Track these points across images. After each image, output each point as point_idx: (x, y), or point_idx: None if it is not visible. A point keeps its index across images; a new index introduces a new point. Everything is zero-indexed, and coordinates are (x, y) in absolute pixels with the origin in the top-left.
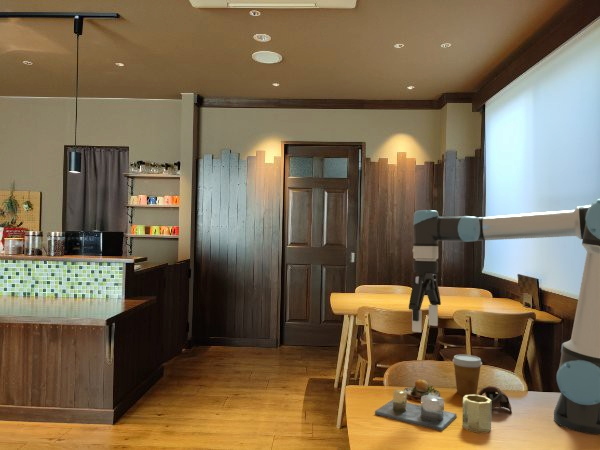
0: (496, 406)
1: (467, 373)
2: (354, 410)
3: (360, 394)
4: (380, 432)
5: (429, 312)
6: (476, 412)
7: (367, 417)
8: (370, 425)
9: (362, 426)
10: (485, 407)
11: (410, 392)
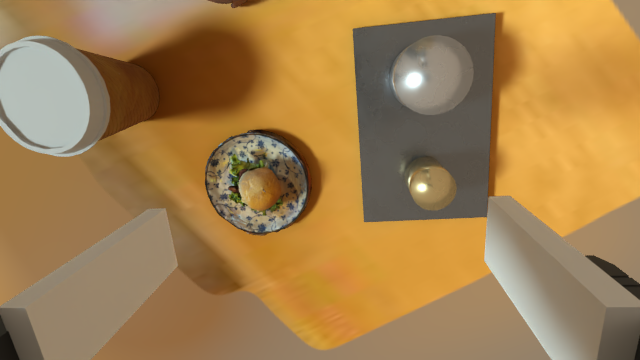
0: None
1: (115, 78)
2: None
3: (365, 308)
4: (601, 142)
5: (115, 324)
6: None
7: None
8: (567, 185)
9: (587, 197)
10: None
11: (261, 216)
